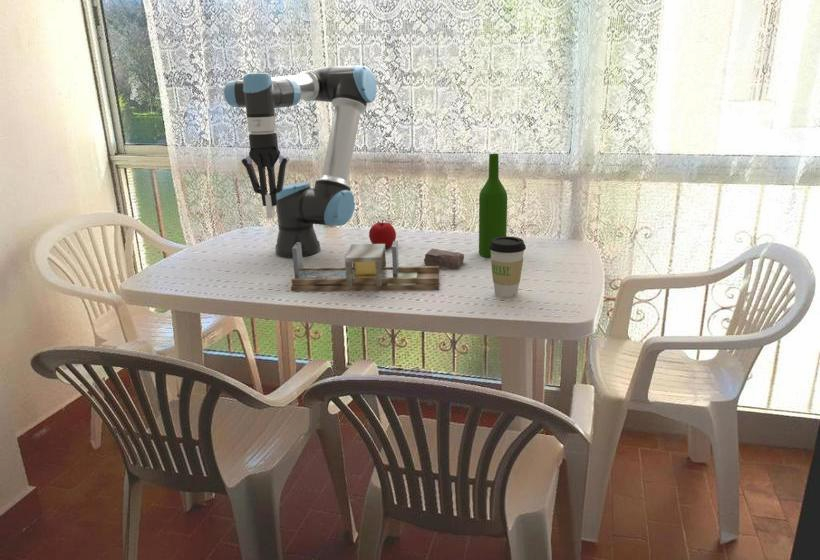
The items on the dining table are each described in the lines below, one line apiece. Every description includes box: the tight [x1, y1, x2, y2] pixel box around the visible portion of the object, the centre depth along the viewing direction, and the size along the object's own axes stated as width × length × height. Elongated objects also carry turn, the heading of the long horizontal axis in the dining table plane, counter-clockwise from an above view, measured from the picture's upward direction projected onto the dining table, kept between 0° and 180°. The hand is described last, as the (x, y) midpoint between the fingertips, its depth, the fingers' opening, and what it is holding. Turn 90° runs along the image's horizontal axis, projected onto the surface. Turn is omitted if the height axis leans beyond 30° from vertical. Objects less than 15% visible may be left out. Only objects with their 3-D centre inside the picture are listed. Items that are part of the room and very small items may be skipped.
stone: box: [423, 248, 465, 270], centre depth 197 cm, size 9×12×5 cm
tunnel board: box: [290, 243, 440, 292], centre depth 183 cm, size 42×14×10 cm, turn 87°
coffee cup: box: [489, 235, 527, 298], centre depth 170 cm, size 10×10×15 cm
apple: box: [368, 219, 397, 249], centre depth 217 cm, size 9×9×10 cm
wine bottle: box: [478, 153, 508, 259], centre depth 201 cm, size 9×9×32 cm
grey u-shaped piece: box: [292, 240, 400, 279], centre depth 182 cm, size 30×8×10 cm, turn 87°
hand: (271, 217), depth 179 cm, fingers closed
